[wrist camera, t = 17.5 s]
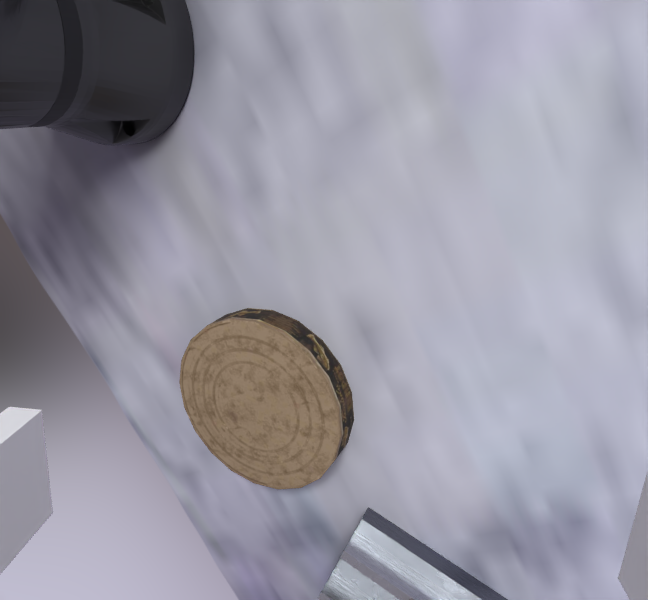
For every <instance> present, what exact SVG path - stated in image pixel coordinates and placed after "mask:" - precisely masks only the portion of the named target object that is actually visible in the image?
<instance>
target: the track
mask: <svg viewBox="0 0 648 600" xmlns="http://www.w3.org/2000/svg"><path fill="white" fill-rule="evenodd" d="M318 599H319V600H507V599H506V598H504V597H503V596H501V595H500V594H498V593H497V592H495V591H494V590H492V589H490V588H489V587H487V586H486V585H484V584H483V583H481V582H480V581H478V580H477V579H475V578H474V577H472V576H471V575H469V574H468V573H466V572H465V571H463V570H462V569H460V568H459V567H457V566H456V565H454V564H453V563H451V562H450V561H448V560H447V559H445V558H444V557H442V556H441V555H439V554H438V553H436V552H435V551H433V550H432V549H430V548H429V547H427V546H426V545H424V544H423V543H421V542H420V541H418V540H417V539H415V538H414V537H412V536H411V535H409V534H408V533H406V532H405V531H403V530H402V529H400V528H399V527H397V526H396V525H394V524H393V523H391V522H390V521H388V520H387V519H385V518H384V517H382V516H381V515H379V514H378V513H376V512H374V511H373V510H371V509H370V508H368V509H367V511H366V513H365V514H364V516H363V518H362V520H361V521H360V523H359V525H358V527H357V529H356V530H355V532H354V534H353V536H352V537H351V539H350V541H349V543H348V544H347V546H346V548H345V550H344V551H343V553H342V555H341V557H340V560H339V561H338V563H337V565H336V567H335V569H334V570H333V572H332V574H331V576H330V577H329V579H328V581H327V583H326V584H325V586H324V588H323V590H322V591H321V593H320V595H319V597H318Z"/></svg>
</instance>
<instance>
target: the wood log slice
mask: <svg viewBox="0 0 648 600" xmlns="http://www.w3.org/2000/svg"><path fill="white" fill-rule="evenodd" d="M180 388H181V393H182V398H183V403H184V408H185V410H186V412H187V414H188V416H189V419H190V421H191V423H192V425H193V427H194V430H195V431H196V433H197V434H198V435H199V437H200V438H201V440H202V441H203V442H204V444H205V445H206V446H207V448H208V449H209V450H210V452H211V453H212V454H213V455H214V456H216V457H217V458H218V459H219V460H220V461H221V462H222V463H223V464H225V465H226V466H227V467H228V468H229V469H230V470H231V471H233V472H235V473H237V474H238V475H240V476H242V477H244V478H246V479H248V480H249V481H251V482H253V483H255V484H259V485H263V486H267V487H271V488H275V489H290V488H301V487H303V486H305V485H308V484H310V483H312V482H314V481H316V480H318V479H320V478H321V477H322V475H323V474H324V473H325V472H326V471H327V469H328V468H329V467H330V466H331V464H332V463H333V462H334V461H335V459H336V458H337V456H338V455H339V454H340V452H341V451H342V450H343V448H344V447H345V446H346V444H347V443H348V440H349V436H350V433H351V429H352V425H353V422H354V412H353V400H352V392H351V389H350V387H349V384H348V382H347V379H346V377H345V374H344V371H343V369H342V366H341V364H340V363H339V362H338V360H337V359H336V358H335V356H334V355H333V354H332V352H331V351H330V350H329V348H328V347H327V346H326V344H325V343H324V342H323V340H322V339H320V338H319V337H318V336H317V335H315V334H314V333H313V332H312V331H310V330H309V329H308V328H307V327H305V326H304V325H303V324H302V323H300V322H299V321H297V320H295V319H292V318H290V317H288V316H285V315H283V314H281V313H278V312H276V311H273V310H264V309H252V308H247V309H243V310H240V311H237V312H233V313H230V314H227V315H225V316H223V317H221V318H220V319H218V320H216V321H214V322H213V323H211V324H209V325H207V326H206V327H205V328H204V329H203V330H202V331H200V332H199V333H198V334H197V335H196V336H195V337H193V338H192V339H191V340H190V343H189V345H188V347H187V349H186V351H185V353H184V355H183V357H182V361H181V372H180Z"/></svg>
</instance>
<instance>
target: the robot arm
mask: <svg viewBox="0 0 648 600" xmlns="http://www.w3.org/2000/svg"><path fill="white" fill-rule="evenodd" d="M193 60H194V45H193V34H192V27H191V21H190V17H189V13H188V9H187V6H186V3H185V0H0V129H7V128H22V127H41V126H44V127H47V128H51V129H54V130H57V131H60V132H64V133H67V134H70V135H73V136H76V137H80V138H83V139H86V140H89V141H92V142H96V143H99V144H104V145H128V144H137V143H143V142H146V141H149V140H152V139H154V138H155V137H157V136H159V135H160V134H161V133H163V132H164V131H165V130H166V129H167V128H168V127H169V126H170V125H171V124H172V123H173V121H174V120H175V119H176V117H177V116H178V114H179V112H180V110H181V109H182V107H183V104H184V102H185V100H186V97H187V94H188V91H189V87H190V83H191V78H192V72H193ZM52 513H53V510H52V501H51V491H50V481H49V472H48V463H47V454H46V443H45V434H44V424H43V415H42V410H35V409H27V408H16V407H8V408H7V409H6V410H4V411H3V412H2V413H0V574H1V573H2V572H3V570H5V568H6V567H7V566H8V565H9V564H10V562H11V561H12V560H13V559H14V558H15V557H16V555H17V554H18V553H19V552H20V551H21V550H22V548H23V547H24V546H25V545H26V543H27V542H28V541H29V540H30V539H31V538H32V536H34V534H35V533H36V532H37V531H38V530H39V528H40V527H41V526H42V525H43V524H44V523H45V521H46V520H47V519H48V518H49V517H50V516H51V514H52ZM618 579H619V581H620V583H621V585H622V587H623V588H624V590H625V592H626V594H627V596H628V598H629V599H630V600H648V472H647V475H646V479H645V483H644V486H643V490H642V493H641V497H640V501H639V504H638V508H637V511H636V515H635V519H634V522H633V526H632V529H631V533H630V537H629V540H628V544H627V547H626V551H625V555H624V558H623V562H622V565H621V569H620V573H619V576H618Z"/></svg>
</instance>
